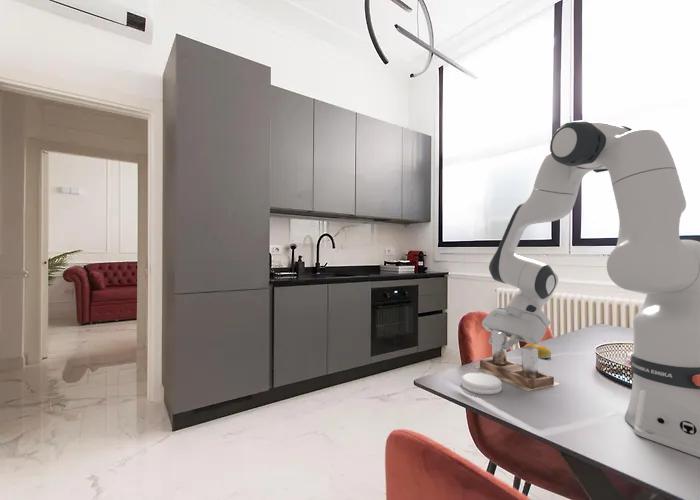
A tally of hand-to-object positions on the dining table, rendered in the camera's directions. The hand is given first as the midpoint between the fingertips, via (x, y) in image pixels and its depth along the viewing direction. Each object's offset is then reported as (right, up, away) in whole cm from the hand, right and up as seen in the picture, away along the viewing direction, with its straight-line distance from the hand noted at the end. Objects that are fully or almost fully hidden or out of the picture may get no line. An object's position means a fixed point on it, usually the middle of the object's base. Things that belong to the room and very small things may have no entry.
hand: (497, 346), depth 107 cm
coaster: (-10, -9, -14) cm, 19 cm away
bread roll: (+21, -8, +17) cm, 28 cm away
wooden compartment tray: (+3, -8, -5) cm, 10 cm away
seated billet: (+5, -7, -10) cm, 13 cm away
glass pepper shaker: (+1, -5, 0) cm, 5 cm away
